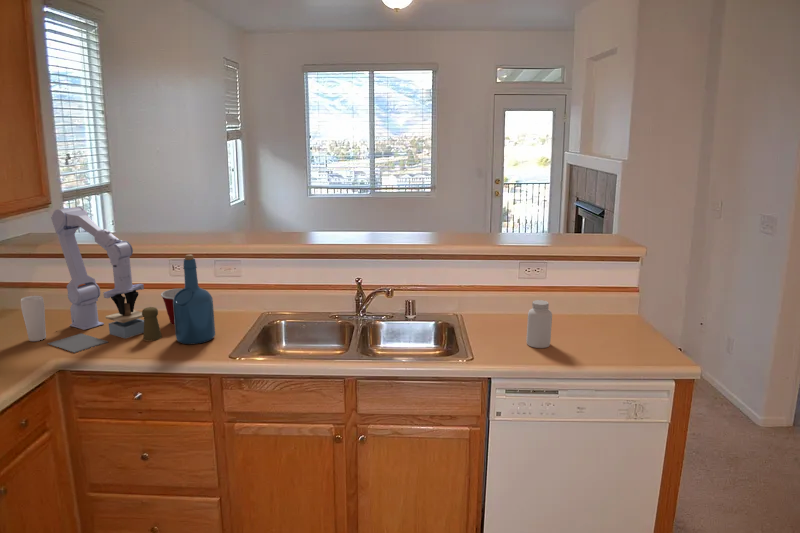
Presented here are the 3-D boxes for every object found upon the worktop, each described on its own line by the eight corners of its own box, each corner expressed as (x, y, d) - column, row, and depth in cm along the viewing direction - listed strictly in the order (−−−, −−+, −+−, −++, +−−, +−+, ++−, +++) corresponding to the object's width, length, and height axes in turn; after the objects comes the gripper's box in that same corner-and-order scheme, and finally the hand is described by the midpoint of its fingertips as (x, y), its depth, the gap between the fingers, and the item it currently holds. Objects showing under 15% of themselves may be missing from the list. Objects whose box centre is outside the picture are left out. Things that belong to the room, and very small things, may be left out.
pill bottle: (536, 350, 201) (539, 306, 197) (521, 342, 208) (523, 300, 204) (555, 346, 204) (557, 303, 201) (539, 339, 211) (541, 297, 208)
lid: (105, 318, 216) (104, 305, 215) (130, 311, 224) (129, 298, 223) (122, 323, 211) (121, 309, 210) (147, 315, 219) (146, 302, 218)
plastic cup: (166, 329, 223) (163, 297, 220) (161, 321, 232) (158, 290, 229) (196, 324, 228) (194, 293, 225) (190, 316, 237) (188, 287, 234)
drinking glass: (53, 337, 214) (47, 296, 210) (34, 343, 208) (28, 301, 204) (40, 335, 216) (34, 294, 213) (21, 341, 210) (15, 299, 207)
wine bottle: (192, 330, 220) (185, 250, 214) (223, 335, 216) (217, 252, 209) (166, 343, 208) (158, 257, 201) (198, 347, 204) (191, 260, 197)
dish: (109, 334, 217) (108, 323, 216) (132, 327, 225) (131, 316, 224) (125, 338, 213) (124, 327, 212) (147, 331, 220) (146, 320, 219)
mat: (47, 344, 207) (47, 343, 207) (81, 334, 217) (81, 333, 217) (74, 353, 199) (74, 352, 199) (108, 342, 209) (108, 341, 209)
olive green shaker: (155, 341, 210) (152, 310, 207) (139, 340, 211) (136, 309, 209) (165, 335, 216) (162, 305, 213) (149, 334, 217) (146, 304, 214)
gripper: (110, 282, 206) (114, 320, 209) (147, 273, 218) (151, 309, 221) (98, 279, 209) (102, 316, 213) (135, 270, 221) (138, 306, 225)
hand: (126, 312), depth 217 cm, fingers closed on lid, 3 cm apart
